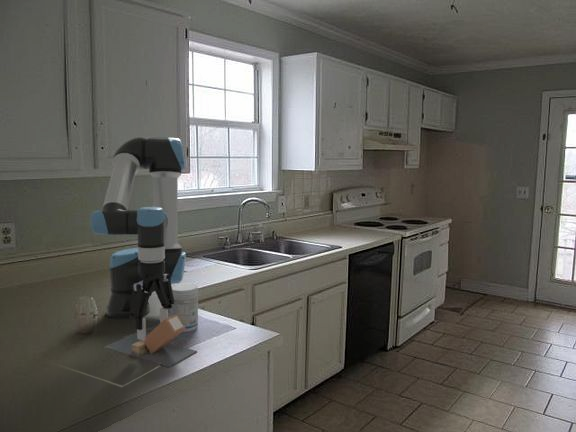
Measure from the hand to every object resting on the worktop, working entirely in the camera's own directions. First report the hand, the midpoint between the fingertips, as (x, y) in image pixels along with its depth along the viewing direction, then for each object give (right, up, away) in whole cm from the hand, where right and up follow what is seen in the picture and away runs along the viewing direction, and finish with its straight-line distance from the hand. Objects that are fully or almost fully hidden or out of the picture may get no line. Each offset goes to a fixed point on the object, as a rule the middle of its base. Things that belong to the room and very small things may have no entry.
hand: (153, 333), depth 144 cm
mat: (-1, -5, +1) cm, 6 cm away
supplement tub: (+5, -3, +19) cm, 20 cm away
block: (0, -3, +1) cm, 3 cm away
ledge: (-2, -5, +2) cm, 6 cm away
